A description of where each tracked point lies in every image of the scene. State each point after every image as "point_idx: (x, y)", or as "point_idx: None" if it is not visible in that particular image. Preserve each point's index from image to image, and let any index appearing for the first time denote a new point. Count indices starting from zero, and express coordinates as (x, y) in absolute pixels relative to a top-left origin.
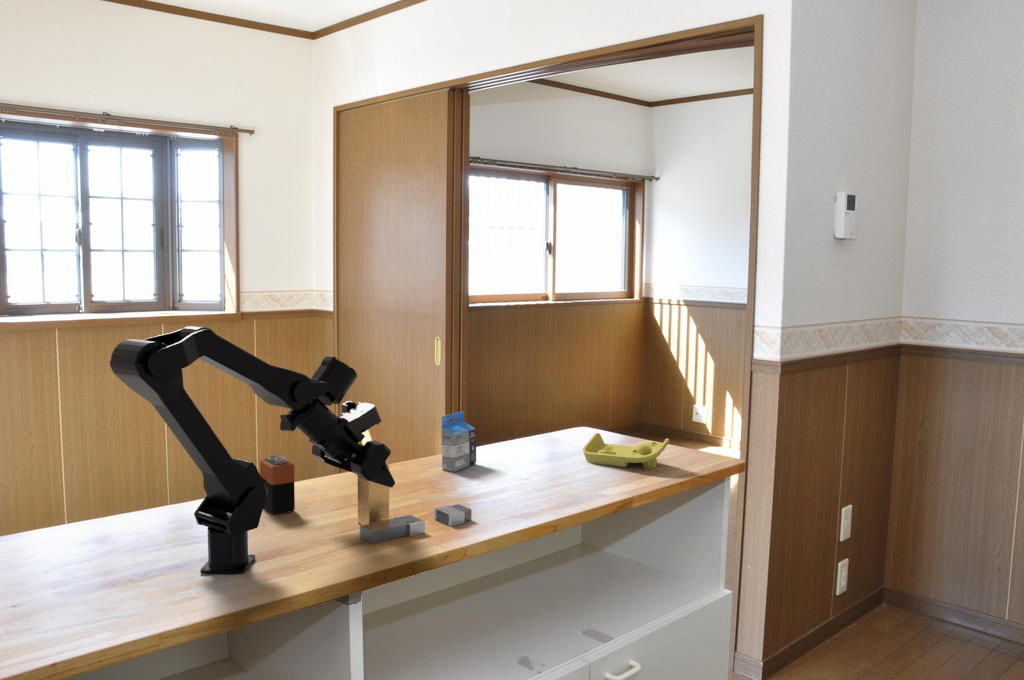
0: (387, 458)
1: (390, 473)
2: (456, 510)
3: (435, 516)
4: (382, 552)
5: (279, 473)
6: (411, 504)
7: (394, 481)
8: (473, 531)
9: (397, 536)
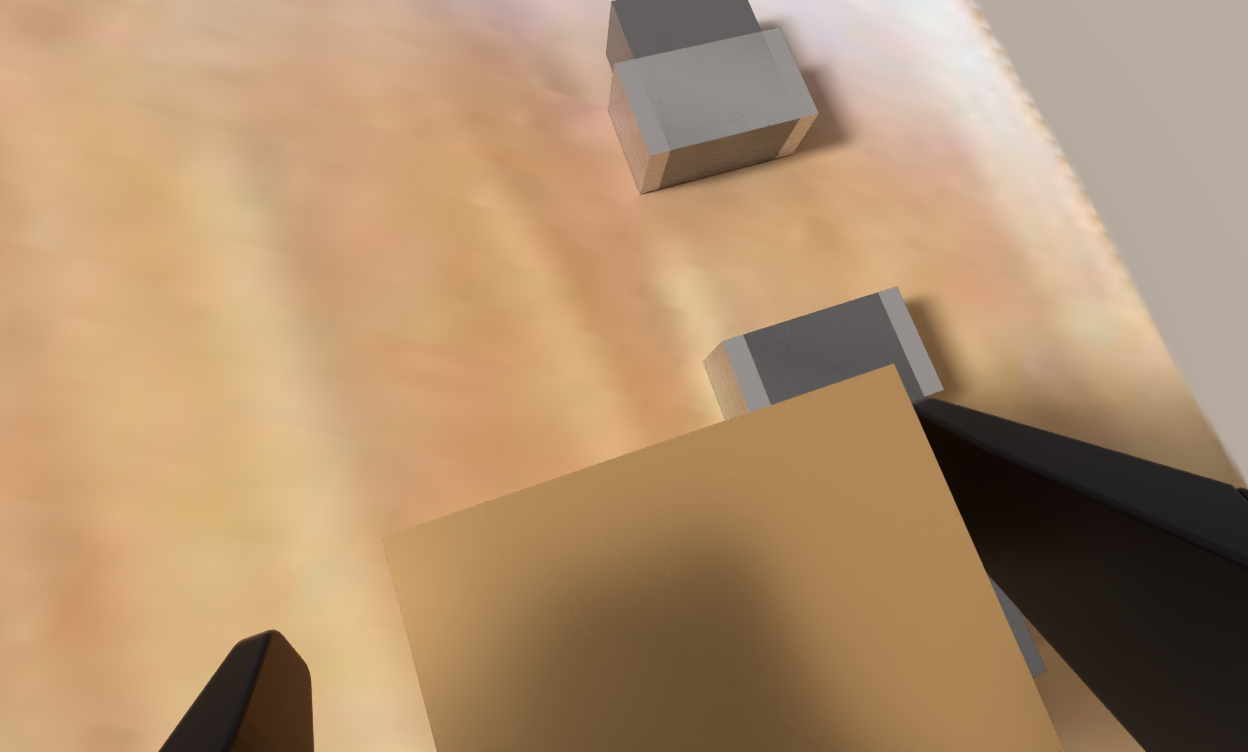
0: (905, 399)
1: (1144, 461)
2: (733, 54)
3: (655, 179)
4: None
5: None
6: (278, 229)
7: (952, 406)
8: (891, 83)
9: None
